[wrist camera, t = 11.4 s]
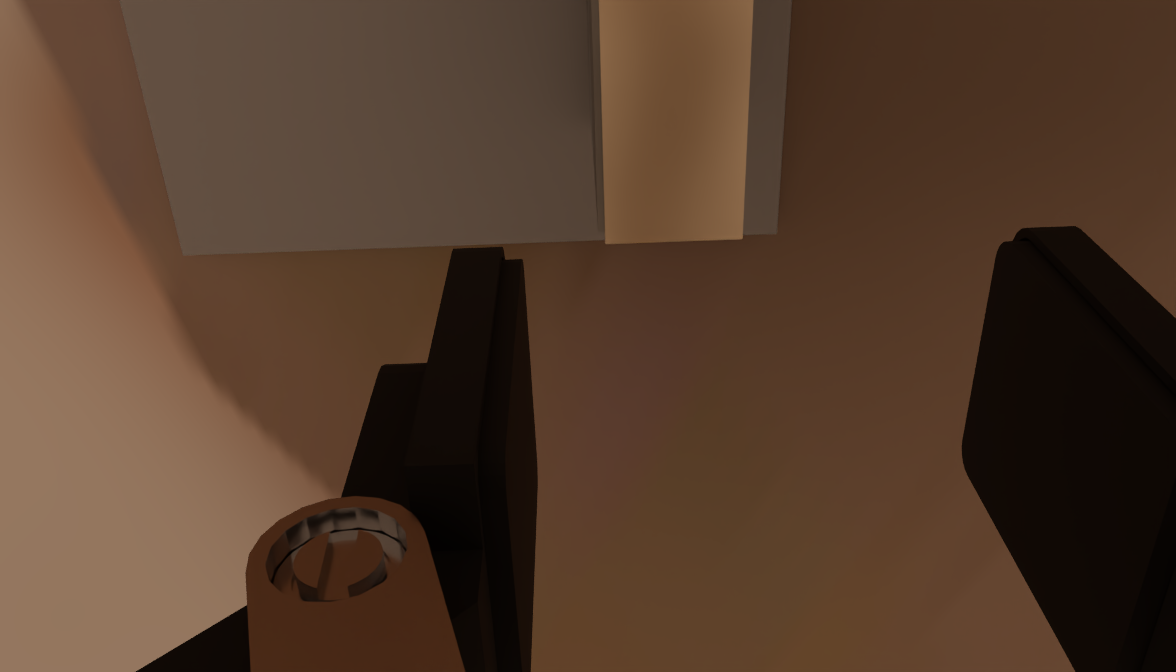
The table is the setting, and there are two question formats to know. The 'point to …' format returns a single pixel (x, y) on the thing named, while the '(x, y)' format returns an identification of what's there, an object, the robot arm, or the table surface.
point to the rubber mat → (397, 121)
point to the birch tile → (669, 117)
